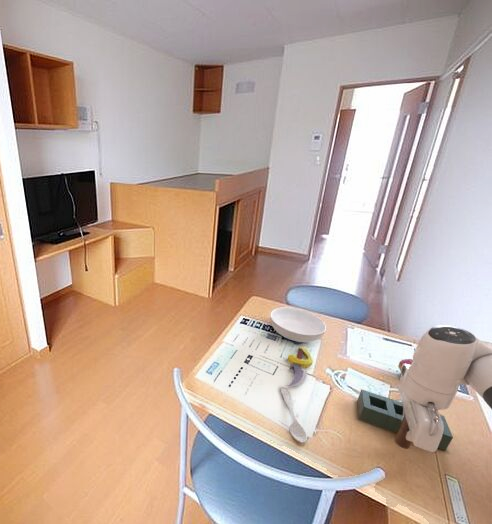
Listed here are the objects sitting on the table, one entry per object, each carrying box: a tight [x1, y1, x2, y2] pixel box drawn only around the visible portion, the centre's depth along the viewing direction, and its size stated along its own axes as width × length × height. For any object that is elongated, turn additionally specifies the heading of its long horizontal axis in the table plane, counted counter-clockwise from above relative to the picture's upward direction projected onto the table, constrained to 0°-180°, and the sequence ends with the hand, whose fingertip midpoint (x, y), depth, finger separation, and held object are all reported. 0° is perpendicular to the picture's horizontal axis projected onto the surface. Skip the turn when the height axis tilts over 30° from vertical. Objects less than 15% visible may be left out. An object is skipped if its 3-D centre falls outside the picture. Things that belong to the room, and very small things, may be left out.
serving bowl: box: [269, 306, 327, 343], centre depth 126 cm, size 21×21×7 cm
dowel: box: [394, 416, 413, 450], centre depth 76 cm, size 3×3×10 cm
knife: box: [285, 345, 314, 388], centre depth 107 cm, size 8×3×25 cm
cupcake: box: [397, 358, 413, 375], centre depth 101 cm, size 9×8×12 cm
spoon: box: [280, 387, 308, 444], centre depth 90 cm, size 4×21×2 cm, turn 169°
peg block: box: [356, 389, 454, 451], centre depth 87 cm, size 19×8×5 cm, turn 60°
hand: (407, 431), depth 76 cm, fingers closed on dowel, 3 cm apart
